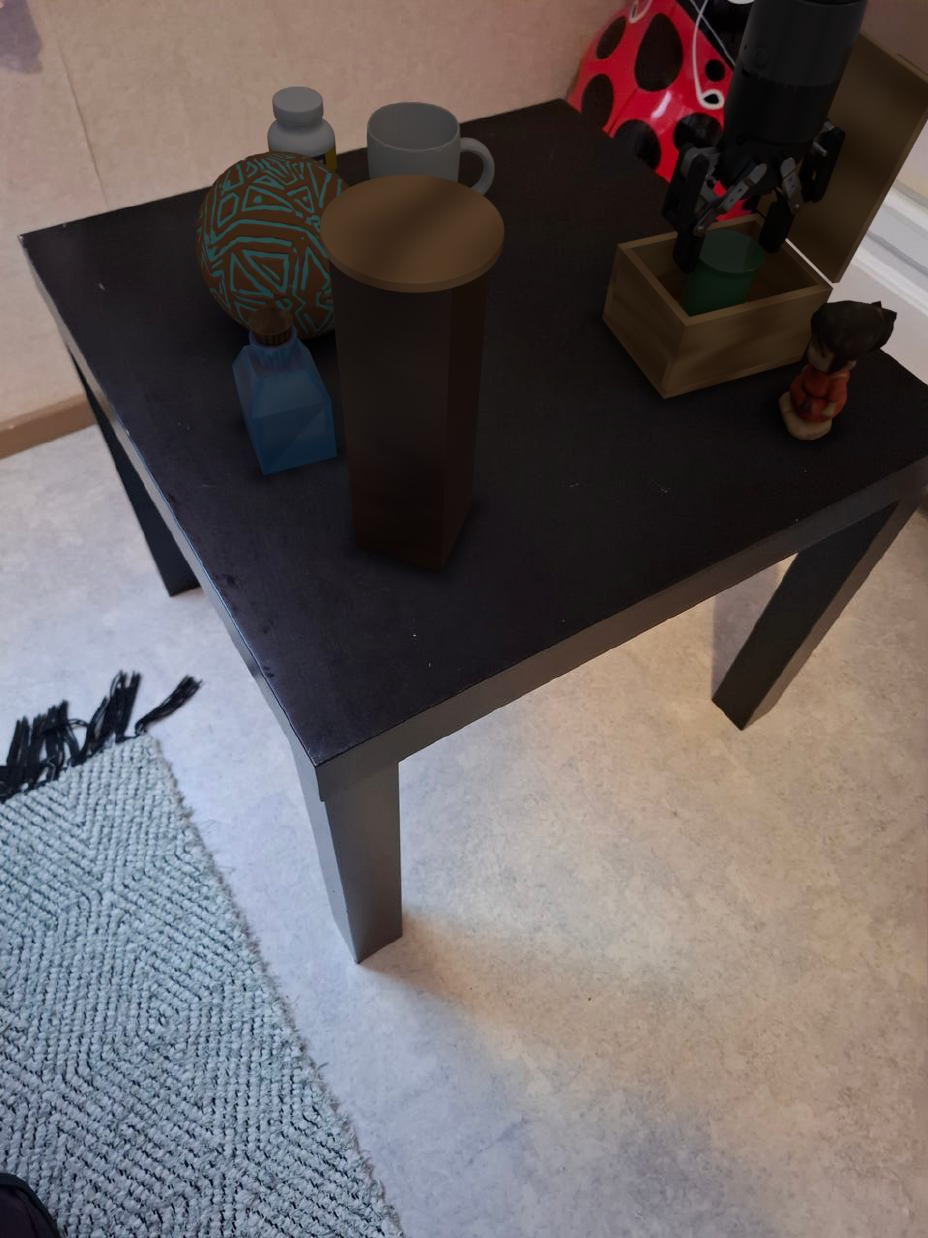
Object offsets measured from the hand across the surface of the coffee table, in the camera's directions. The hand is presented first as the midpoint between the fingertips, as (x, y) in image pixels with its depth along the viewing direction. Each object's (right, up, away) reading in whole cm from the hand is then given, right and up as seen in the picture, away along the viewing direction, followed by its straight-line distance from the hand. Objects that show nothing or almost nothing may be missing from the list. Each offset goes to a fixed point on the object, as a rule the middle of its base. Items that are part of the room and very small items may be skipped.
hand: (725, 257), depth 76 cm
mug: (-26, +10, +16) cm, 32 cm away
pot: (0, -4, +6) cm, 8 cm away
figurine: (+7, -13, +2) cm, 15 cm away
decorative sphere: (-38, -4, +6) cm, 39 cm away
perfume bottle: (-37, -16, -2) cm, 41 cm away
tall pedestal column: (-27, -24, -7) cm, 36 cm away
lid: (+8, +6, -4) cm, 11 cm away
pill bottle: (-39, +11, +16) cm, 43 cm away
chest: (0, -5, +7) cm, 9 cm away
